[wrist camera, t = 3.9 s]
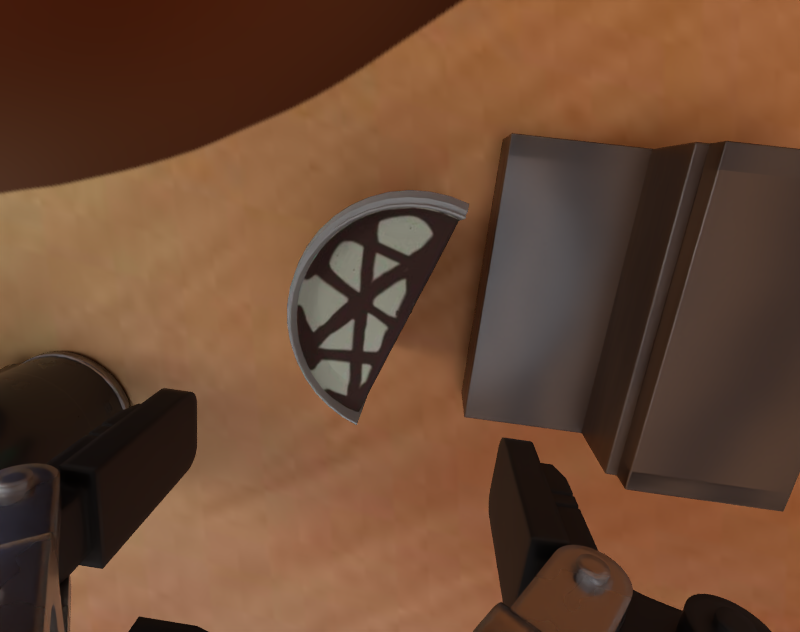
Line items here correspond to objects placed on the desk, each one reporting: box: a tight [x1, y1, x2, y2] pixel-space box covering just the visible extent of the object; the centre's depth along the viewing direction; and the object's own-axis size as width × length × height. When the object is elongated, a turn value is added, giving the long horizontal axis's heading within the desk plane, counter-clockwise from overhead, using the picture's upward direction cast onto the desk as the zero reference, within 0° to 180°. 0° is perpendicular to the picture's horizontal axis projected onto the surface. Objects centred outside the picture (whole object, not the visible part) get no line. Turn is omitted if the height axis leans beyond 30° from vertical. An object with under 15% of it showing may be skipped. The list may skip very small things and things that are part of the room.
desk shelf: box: [462, 133, 800, 511], centre depth 26 cm, size 16×17×9 cm
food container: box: [287, 190, 469, 425], centre depth 26 cm, size 12×6×10 cm, turn 154°
